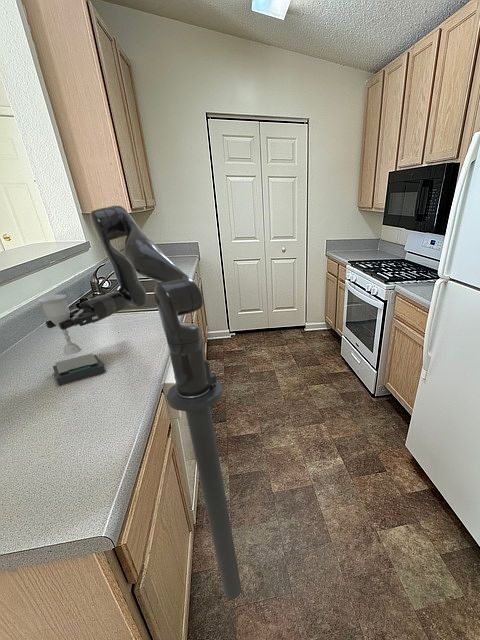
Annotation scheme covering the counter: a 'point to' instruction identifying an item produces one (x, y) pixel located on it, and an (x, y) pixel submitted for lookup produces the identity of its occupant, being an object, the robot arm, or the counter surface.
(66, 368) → the pan
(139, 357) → the counter surface
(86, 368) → the scale
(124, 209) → the robot arm
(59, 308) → the chalice
